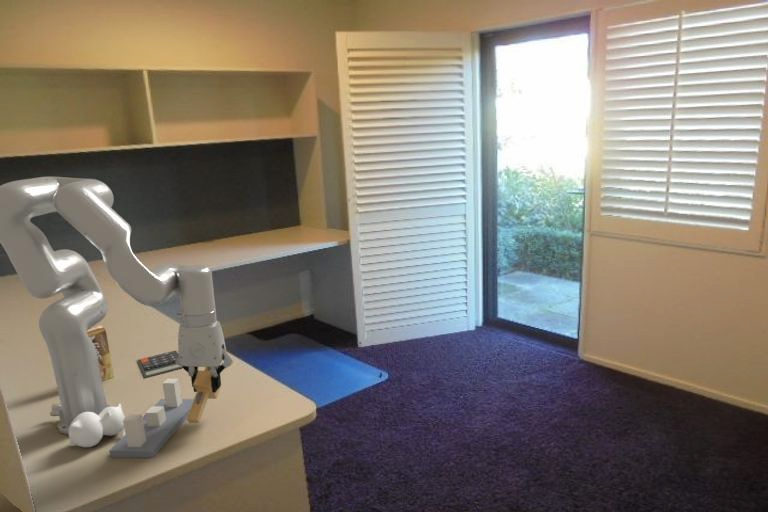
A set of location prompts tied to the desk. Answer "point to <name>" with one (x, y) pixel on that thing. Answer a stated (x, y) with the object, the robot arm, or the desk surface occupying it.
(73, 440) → the cat figurine
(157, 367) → the calculator
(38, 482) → the desk surface
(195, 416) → the tan bar with handles
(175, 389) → the display stand
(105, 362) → the candy box
